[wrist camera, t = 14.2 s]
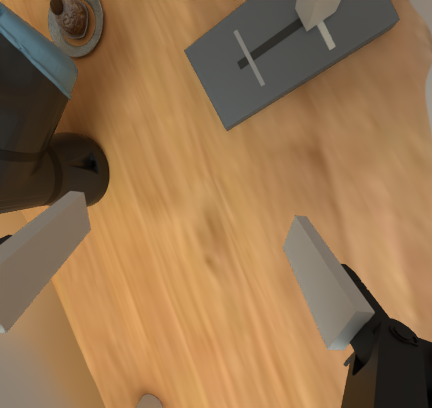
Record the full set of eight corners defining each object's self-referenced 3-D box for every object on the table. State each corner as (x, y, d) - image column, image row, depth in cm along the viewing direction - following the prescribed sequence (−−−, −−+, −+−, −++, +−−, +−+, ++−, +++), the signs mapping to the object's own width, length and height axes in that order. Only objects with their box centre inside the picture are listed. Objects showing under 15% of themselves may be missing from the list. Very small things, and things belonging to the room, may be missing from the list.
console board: (227, 131, 36) (224, 128, 34) (188, 57, 36) (182, 47, 33) (390, 29, 29) (403, 14, 26) (345, -65, 29) (353, -90, 26)
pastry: (115, -3, 37) (94, -26, 33) (97, 68, 40) (77, 56, 36) (61, -21, 39) (34, -46, 34) (48, 48, 42) (22, 34, 37)
